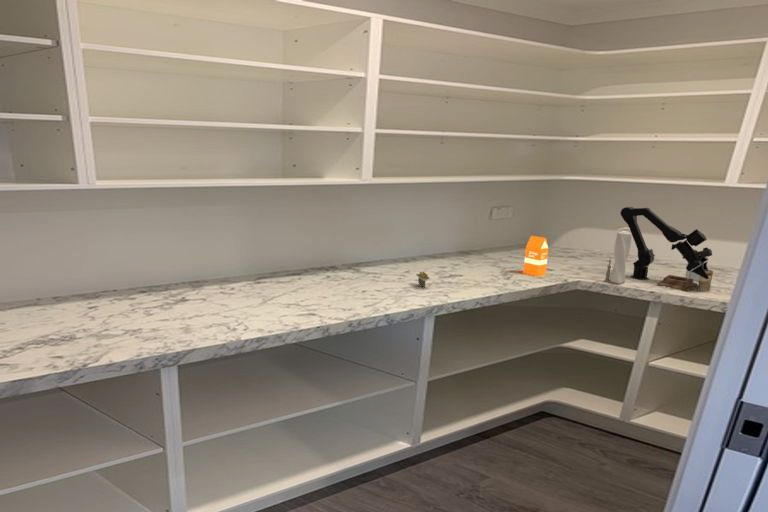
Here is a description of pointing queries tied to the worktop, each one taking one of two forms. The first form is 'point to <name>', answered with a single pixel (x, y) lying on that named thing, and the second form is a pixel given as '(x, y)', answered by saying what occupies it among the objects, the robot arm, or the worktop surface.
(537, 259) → the orange juice
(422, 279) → the olive brown upright piece
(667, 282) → the walnut dock
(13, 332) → the worktop surface
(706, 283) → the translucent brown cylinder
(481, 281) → the worktop surface
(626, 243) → the skyscraper
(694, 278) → the syrup box
